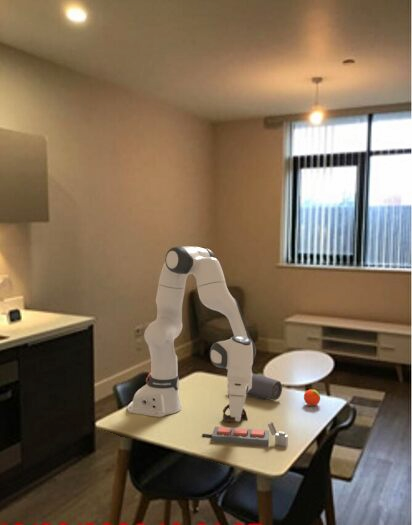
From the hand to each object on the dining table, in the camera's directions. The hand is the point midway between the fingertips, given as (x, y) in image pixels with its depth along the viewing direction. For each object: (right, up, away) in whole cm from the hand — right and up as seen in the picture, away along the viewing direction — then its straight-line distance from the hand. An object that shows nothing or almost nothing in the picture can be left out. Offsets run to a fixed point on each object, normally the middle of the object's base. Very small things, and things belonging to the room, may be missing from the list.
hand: (238, 419), depth 174 cm
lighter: (+14, -9, -3) cm, 16 cm away
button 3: (+7, -7, 0) cm, 10 cm away
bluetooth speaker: (+11, -4, +46) cm, 47 cm away
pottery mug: (0, -7, +19) cm, 20 cm away
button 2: (+1, -7, +1) cm, 7 cm away
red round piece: (+34, -5, +35) cm, 49 cm away
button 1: (-5, -7, +2) cm, 9 cm away
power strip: (-1, -8, +1) cm, 8 cm away
